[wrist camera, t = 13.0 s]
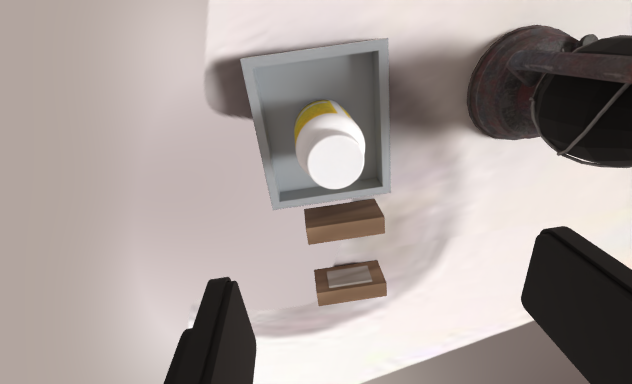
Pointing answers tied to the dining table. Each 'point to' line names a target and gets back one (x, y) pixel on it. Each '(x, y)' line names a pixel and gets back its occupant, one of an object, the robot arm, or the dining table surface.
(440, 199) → the dining table surface
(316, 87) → the tray
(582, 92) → the lantern
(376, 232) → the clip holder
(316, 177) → the supplement bottle
